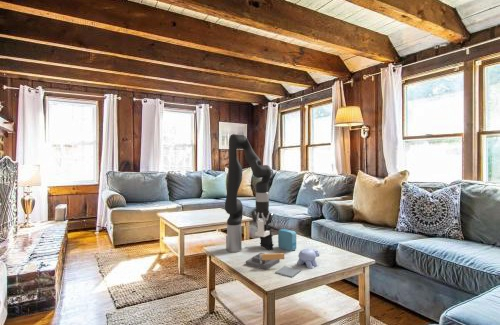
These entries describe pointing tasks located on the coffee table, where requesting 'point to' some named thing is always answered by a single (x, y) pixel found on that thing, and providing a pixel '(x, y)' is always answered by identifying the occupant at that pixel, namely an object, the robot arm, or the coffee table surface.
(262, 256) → the orange rod with knob
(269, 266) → the socket block
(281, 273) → the mat
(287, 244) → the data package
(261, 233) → the plug
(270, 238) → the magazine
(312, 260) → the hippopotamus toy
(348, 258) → the coffee table surface
